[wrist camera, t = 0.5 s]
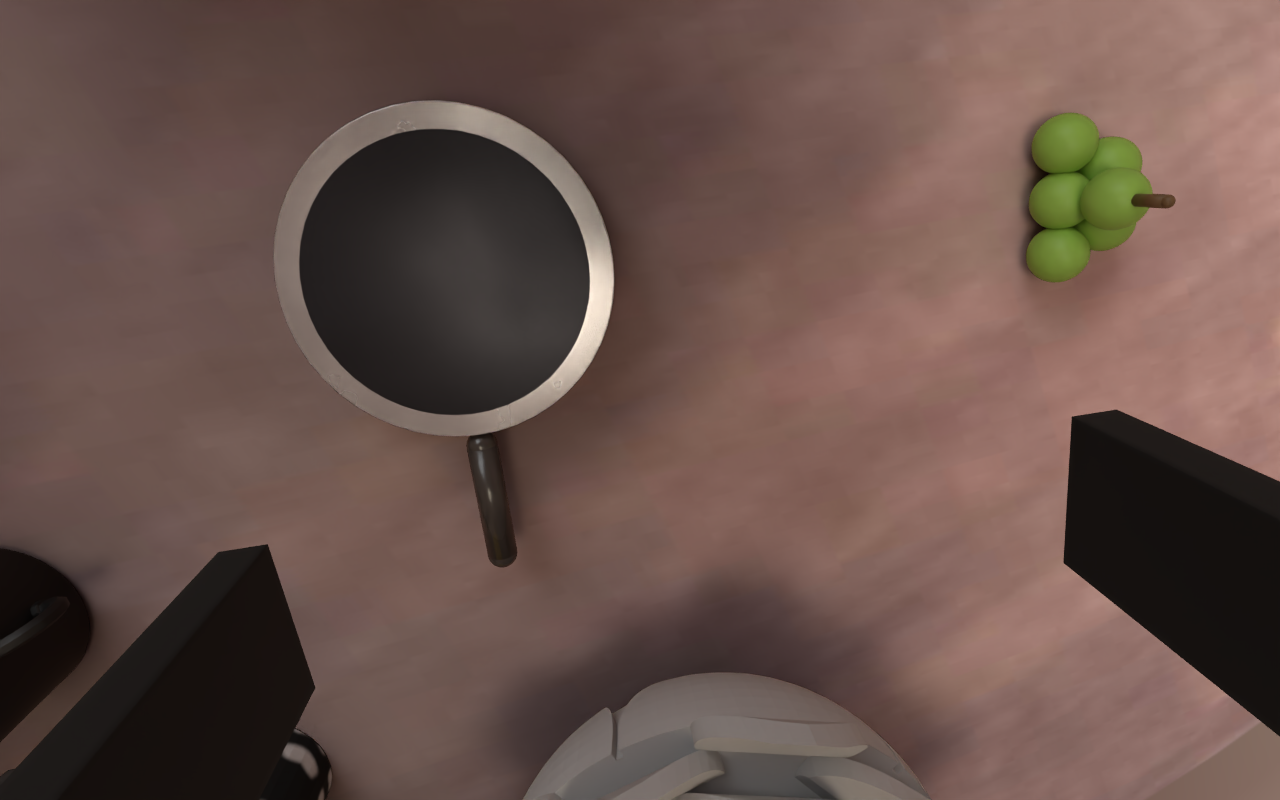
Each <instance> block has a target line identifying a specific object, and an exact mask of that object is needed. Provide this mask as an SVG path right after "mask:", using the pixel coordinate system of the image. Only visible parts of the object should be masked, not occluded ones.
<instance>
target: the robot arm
mask: <svg viewBox="0 0 1280 800" xmlns="http://www.w3.org/2000/svg"><path fill="white" fill-rule="evenodd" d="M1064 564H1066V565H1067V566H1068V567H1069V568H1071V569H1072V570H1073V571H1074V572H1076V573H1077V574H1078V575H1079V576H1081V577H1082V578H1083V579H1084V580H1086V581H1087V582H1088V583H1089V584H1091V585H1092V586H1093V587H1094V588H1096V589H1097V590H1098V591H1099V592H1101V593H1102V594H1103V595H1104V596H1106V597H1107V598H1108V599H1109V600H1111V601H1112V602H1113V603H1114V604H1116V605H1117V606H1118V607H1119V608H1121V609H1122V610H1123V611H1124V612H1125V613H1127V614H1128V615H1129V616H1130V617H1132V618H1133V619H1134V620H1135V621H1137V622H1138V623H1139V624H1140V625H1142V626H1143V627H1144V628H1145V629H1147V630H1148V631H1149V632H1150V633H1152V634H1153V635H1154V636H1155V637H1157V638H1158V639H1159V640H1160V641H1162V642H1163V643H1164V644H1165V645H1167V646H1168V647H1169V648H1170V649H1172V650H1173V651H1174V652H1175V653H1177V654H1178V655H1179V656H1180V657H1182V658H1183V659H1184V660H1185V661H1186V662H1188V663H1189V664H1190V665H1191V666H1193V667H1194V668H1195V669H1196V670H1198V671H1199V672H1200V673H1201V674H1203V675H1204V676H1205V677H1206V678H1208V679H1209V680H1210V681H1211V682H1213V683H1214V684H1215V685H1216V686H1218V687H1219V688H1220V689H1221V690H1223V691H1224V692H1225V693H1226V694H1228V695H1229V696H1230V697H1231V698H1233V699H1234V700H1235V701H1236V702H1238V703H1239V704H1240V705H1241V706H1243V707H1244V708H1245V709H1246V710H1247V711H1249V712H1250V713H1251V714H1252V715H1254V716H1255V717H1256V718H1257V719H1259V720H1260V721H1261V722H1262V723H1264V724H1265V725H1266V726H1267V727H1269V728H1270V729H1271V730H1272V731H1274V732H1275V733H1276V734H1277V735H1279V736H1280V482H1279V481H1277V480H1275V479H1273V478H1270V477H1268V476H1266V475H1264V474H1261V473H1259V472H1257V471H1254V470H1252V469H1250V468H1248V467H1245V466H1243V465H1241V464H1239V463H1236V462H1234V461H1232V460H1230V459H1227V458H1225V457H1223V456H1220V455H1218V454H1216V453H1214V452H1211V451H1209V450H1207V449H1205V448H1202V447H1200V446H1198V445H1196V444H1193V443H1191V442H1189V441H1187V440H1184V439H1182V438H1180V437H1177V436H1175V435H1173V434H1171V433H1168V432H1166V431H1164V430H1162V429H1159V428H1157V427H1155V426H1153V425H1150V424H1148V423H1146V422H1143V421H1141V420H1139V419H1137V418H1134V417H1132V416H1130V415H1128V414H1125V413H1123V412H1121V411H1119V410H1111V411H1105V412H1099V413H1092V414H1086V415H1080V416H1074V417H1072V424H1071V442H1070V459H1069V477H1068V494H1067V512H1066V529H1065V547H1064ZM314 689H315V685H314V682H313V679H312V676H311V673H310V670H309V667H308V664H307V661H306V658H305V655H304V652H303V649H302V646H301V643H300V640H299V637H298V634H297V631H296V628H295V625H294V622H293V619H292V616H291V613H290V610H289V607H288V604H287V601H286V598H285V595H284V592H283V589H282V586H281V583H280V580H279V577H278V574H277V571H276V568H275V565H274V562H273V559H272V556H271V553H270V550H269V547H268V544H267V545H260V546H254V547H248V548H242V549H235V550H229V551H223V552H218V553H217V554H216V555H215V556H214V557H213V558H212V560H211V561H210V562H209V563H208V564H207V565H206V566H205V567H204V568H203V569H202V570H201V571H200V572H199V573H198V575H197V576H196V577H195V578H194V579H193V580H192V581H191V582H190V583H189V584H188V585H187V586H186V587H185V588H184V589H183V591H182V592H181V593H180V594H179V595H178V596H177V597H176V598H175V599H174V600H173V601H172V602H171V603H170V604H169V606H168V607H167V608H166V609H165V610H164V611H163V612H162V613H161V614H160V615H159V616H158V617H157V618H156V619H155V620H154V622H153V623H152V624H151V625H150V626H149V627H148V628H147V629H146V630H145V631H144V632H143V633H142V634H141V635H140V636H139V638H138V639H137V640H136V641H135V642H134V643H133V644H132V645H131V646H130V647H129V648H128V649H127V650H126V651H125V653H124V654H123V655H122V656H121V657H120V658H119V659H118V660H117V661H116V662H115V663H114V664H113V665H112V666H111V667H110V669H109V670H108V671H107V672H106V673H105V674H104V675H103V676H102V677H101V678H100V679H99V680H98V681H97V682H96V683H95V685H94V686H93V687H92V688H91V689H90V690H89V691H88V692H87V693H86V694H85V695H84V696H83V697H82V698H81V700H80V701H79V702H78V703H77V704H76V705H75V706H74V707H73V708H72V709H71V710H70V711H69V712H68V713H67V714H66V716H65V717H64V718H63V719H62V720H61V721H60V722H59V723H58V724H57V725H56V726H55V727H54V728H53V729H52V731H51V732H50V733H49V734H48V735H47V736H46V737H45V738H44V739H43V740H42V741H41V742H40V743H39V744H38V745H37V747H36V748H35V749H34V750H33V751H32V752H31V753H30V754H29V755H28V756H27V757H26V758H25V759H24V760H23V761H22V763H21V764H20V765H19V766H18V767H17V768H16V769H12V770H8V771H7V772H5V773H4V774H3V775H1V776H0V800H259V799H260V797H261V795H262V793H263V791H264V789H265V787H266V785H267V783H268V781H269V779H270V777H271V775H272V773H273V771H274V769H275V767H276V765H277V763H278V761H279V759H280V757H281V755H282V753H283V751H284V749H285V747H286V745H287V743H288V741H289V739H290V737H291V735H292V733H293V731H294V729H295V727H296V725H297V723H298V721H299V719H300V717H301V715H302V713H303V711H304V709H305V707H306V705H307V703H308V701H309V699H310V697H311V695H312V693H313V691H314Z"/></svg>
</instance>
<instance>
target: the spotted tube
mask: <svg viewBox="0 0 1280 800" xmlns="http://www.w3.org/2000/svg"><path fill="white" fill-rule="evenodd" d="M331 781H332V773H331V766H330V764H329V761H328V759H327V756H326V755H325V753H324V752H323V750H322V749H321V747H320V746H319V745H318V744H317V743H316V742H315V741H313V740H312V739H311V738H310V737H308V736H307V735H305V734H304V733H302V732H301V731H298V730H296V729H294V731H293V733H292V735H291V737H290V739H289V741H288V743H287V745H286V747H285V749H284V751H283V753H282V755H281V757H280V759H279V761H278V763H277V765H276V767H275V769H274V771H273V773H272V775H271V777H270V779H269V781H268V783H267V785H266V787H265V789H264V791H263V793H262V795H261V797H260V799H259V800H326V798H327V795H328V793H329V790H330V787H331Z"/></svg>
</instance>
